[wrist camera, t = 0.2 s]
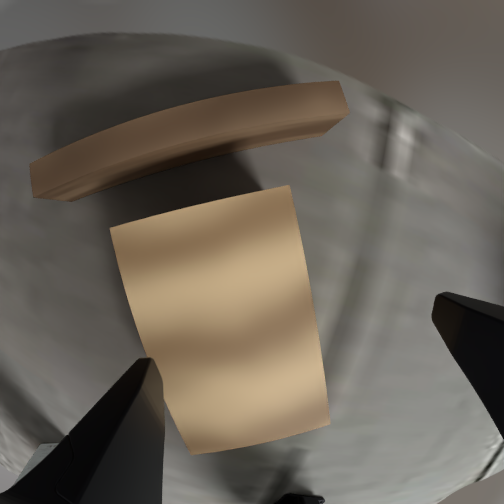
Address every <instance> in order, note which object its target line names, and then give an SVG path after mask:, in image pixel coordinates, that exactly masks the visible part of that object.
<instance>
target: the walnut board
mask: <svg viewBox="0 0 504 504" xmlns="http://www.w3.org/2000/svg"><path fill="white" fill-rule="evenodd" d="M349 113H350V111H349V108H348V105H347V102H346V100H345V97H344V94H343V91H342V88H341V85H340V83H339V81H325V82H312V83H301V84H291V85H283V86H275V87H268V88H261V89H255V90H249V91H243V92H238V93H232V94H227V95H222V96H218V97H213V98H209V99H204V100H200V101H196V102H192V103H188V104H184V105H180V106H176V107H173V108H169V109H166V110H162V111H159V112H155V113H152V114H149V115H146V116H143V117H139V118H136V119H133V120H130V121H128V122H125V123H122V124H119V125H116V126H114V127H111V128H108V129H106V130H103V131H100V132H98V133H95V134H93V135H90V136H88V137H85V138H83V139H81V140H78V141H76V142H74V143H71V144H69V145H67V146H65V147H63V148H60V149H58V150H56V151H54V152H52V153H50V154H48V155H46V156H44V157H42V158H40V159H38V160H36V161H34V162H32V163H30V175H31V184H32V192H33V198H43V199H52V200H61V201H69V202H72V201H75V200H77V199H80V198H83V197H85V196H88V195H91V194H93V193H96V192H99V191H102V190H105V189H107V188H110V187H113V186H116V185H119V184H122V183H125V182H128V181H131V180H134V179H137V178H140V177H144V176H147V175H150V174H153V173H157V172H160V171H164V170H167V169H171V168H174V167H178V166H181V165H185V164H189V163H192V162H196V161H200V160H204V159H208V158H212V157H216V156H220V155H225V154H229V153H233V152H238V151H242V150H247V149H252V148H256V147H261V146H266V145H272V144H277V143H282V142H288V141H294V140H300V139H306V138H312V137H319V136H322V135H323V134H325V133H326V132H327V131H328V130H330V129H331V128H332V127H333V126H334V125H336V124H337V123H338V122H339V121H341V120H342V119H343V118H344V117H346V116H347V115H348V114H349Z"/></svg>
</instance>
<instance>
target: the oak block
mask: <svg viewBox="0 0 504 504" xmlns="http://www.w3.org/2000/svg"><path fill="white" fill-rule="evenodd" d="M110 232H111V237H112V241H113V245H114V250H115V254H116V258H117V262H118V266H119V270H120V273H121V277H122V281H123V284H124V288H125V291H126V295H127V298H128V301H129V305H130V308H131V311H132V314H133V317H134V321H135V324H136V327H137V330H138V333H139V335H140V338H141V341H142V344H143V347H144V350H145V352H146V355H147V357H151V358H153V359H154V361H155V363H156V365H157V367H158V370H159V372H160V374H161V377H162V380H163V392H164V400H165V402H166V404H167V406H168V409H169V411H170V413H171V415H172V417H173V420H174V422H175V424H176V426H177V428H178V430H179V432H180V434H181V436H182V438H183V440H184V442H185V444H186V446H187V448H188V450H189V452H190V454H191V455H196V454H204V453H211V452H218V451H224V450H230V449H236V448H241V447H247V446H252V445H256V444H261V443H265V442H270V441H274V440H278V439H282V438H286V437H289V436H293V435H297V434H300V433H304V432H307V431H310V430H314V429H317V428H320V427H323V426H326V425H329V424H330V415H329V407H328V399H327V391H326V383H325V376H324V369H323V362H322V355H321V349H320V342H319V336H318V329H317V323H316V317H315V311H314V305H313V300H312V294H311V288H310V283H309V277H308V272H307V267H306V262H305V256H304V251H303V246H302V241H301V236H300V231H299V227H298V222H297V217H296V212H295V208H294V203H293V199H292V194H291V190H290V185H287V186H282V187H277V188H272V189H267V190H262V191H257V192H253V193H248V194H243V195H239V196H234V197H229V198H225V199H221V200H216V201H212V202H208V203H203V204H199V205H195V206H191V207H187V208H183V209H179V210H175V211H171V212H167V213H163V214H159V215H155V216H151V217H148V218H144V219H140V220H137V221H133V222H129V223H126V224H122V225H119V226H115V227H112V228H110Z"/></svg>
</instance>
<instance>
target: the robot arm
mask: <svg viewBox="0 0 504 504" xmlns="http://www.w3.org/2000/svg"><path fill="white" fill-rule="evenodd" d="M432 321H433V323H434V325H435V327H436V328H437V330H438V332H439V333H440V335H441V337H442V339H443V340H444V342H445V344H446V346H447V347H448V349H449V351H450V353H451V354H452V356H453V357H454V359H455V361H456V362H457V363H458V365H459V366H460V368H461V369H462V371H463V372H464V374H465V375H466V377H467V379H468V380H469V382H470V383H471V385H472V386H473V388H474V389H475V391H476V393H477V394H478V396H479V398H480V399H481V401H482V402H483V404H484V406H485V407H486V409H487V411H488V413H489V414H490V416H491V418H492V419H493V421H494V423H495V425H496V427H497V428H498V430H499V432H500V434H501V436H502V438H503V439H504V306H500V305H496V304H492V303H489V302H485V301H481V300H477V299H473V298H470V297H466V296H462V295H458V294H454V293H450V292H443V293H440V294H438V295H436V297H435V301H434V306H433V311H432ZM164 439H165V417H164V392H163V380H162V377H161V374H160V372H159V370H158V367H157V365H156V363H155V361H154V359H153V358H151V357H146V358H139V359H138V360H137V361H136V362H135V363H134V364H133V365H132V366H131V367H130V368H129V369H128V370H127V371H126V372H125V373H124V374H123V375H122V376H121V378H120V379H119V380H118V381H117V382H116V383H115V384H114V385H113V386H112V387H111V388H110V389H109V390H108V391H107V392H106V394H105V395H104V396H103V397H102V398H101V399H100V400H99V401H98V402H97V403H96V404H95V405H94V406H93V407H92V408H91V410H90V411H89V412H88V413H87V414H86V415H85V416H84V417H83V418H82V419H81V420H80V421H79V422H78V424H77V425H76V426H75V427H74V428H73V429H72V430H71V431H70V432H69V435H66V436H65V437H64V439H63V440H62V441H61V442H60V443H59V444H58V445H57V446H56V447H55V448H54V449H53V450H52V451H51V452H50V453H49V454H48V455H47V456H46V457H45V458H44V459H43V460H42V461H41V462H39V463H38V464H37V465H36V466H35V467H34V468H33V469H32V470H30V471H29V472H28V473H27V474H26V475H25V476H24V477H22V478H21V479H20V480H19V481H18V482H17V483H15V484H14V485H13V486H12V487H11V488H9V489H8V490H6V491H5V492H3V493H0V504H162V479H163V456H164ZM324 502H325V500H324V498H316V497H309V496H302V495H295V494H286V495H284V496H283V497H282V498H281V499H280V500H278V501H277V502H276V503H275V504H323V503H324Z"/></svg>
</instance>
